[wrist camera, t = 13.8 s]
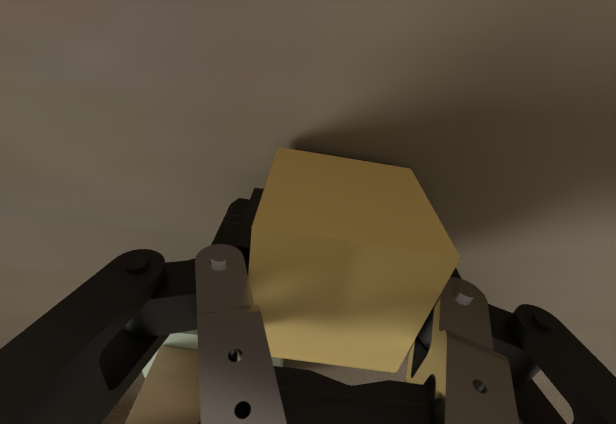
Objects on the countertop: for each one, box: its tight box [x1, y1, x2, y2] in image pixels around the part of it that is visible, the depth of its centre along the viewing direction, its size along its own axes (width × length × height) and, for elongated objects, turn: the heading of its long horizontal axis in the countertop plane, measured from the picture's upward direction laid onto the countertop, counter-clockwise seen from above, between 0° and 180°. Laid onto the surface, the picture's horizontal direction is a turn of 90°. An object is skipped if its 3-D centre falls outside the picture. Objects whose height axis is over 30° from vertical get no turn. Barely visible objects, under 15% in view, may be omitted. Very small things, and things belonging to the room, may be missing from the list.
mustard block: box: [248, 147, 461, 373], centre depth 11 cm, size 5×5×5 cm
